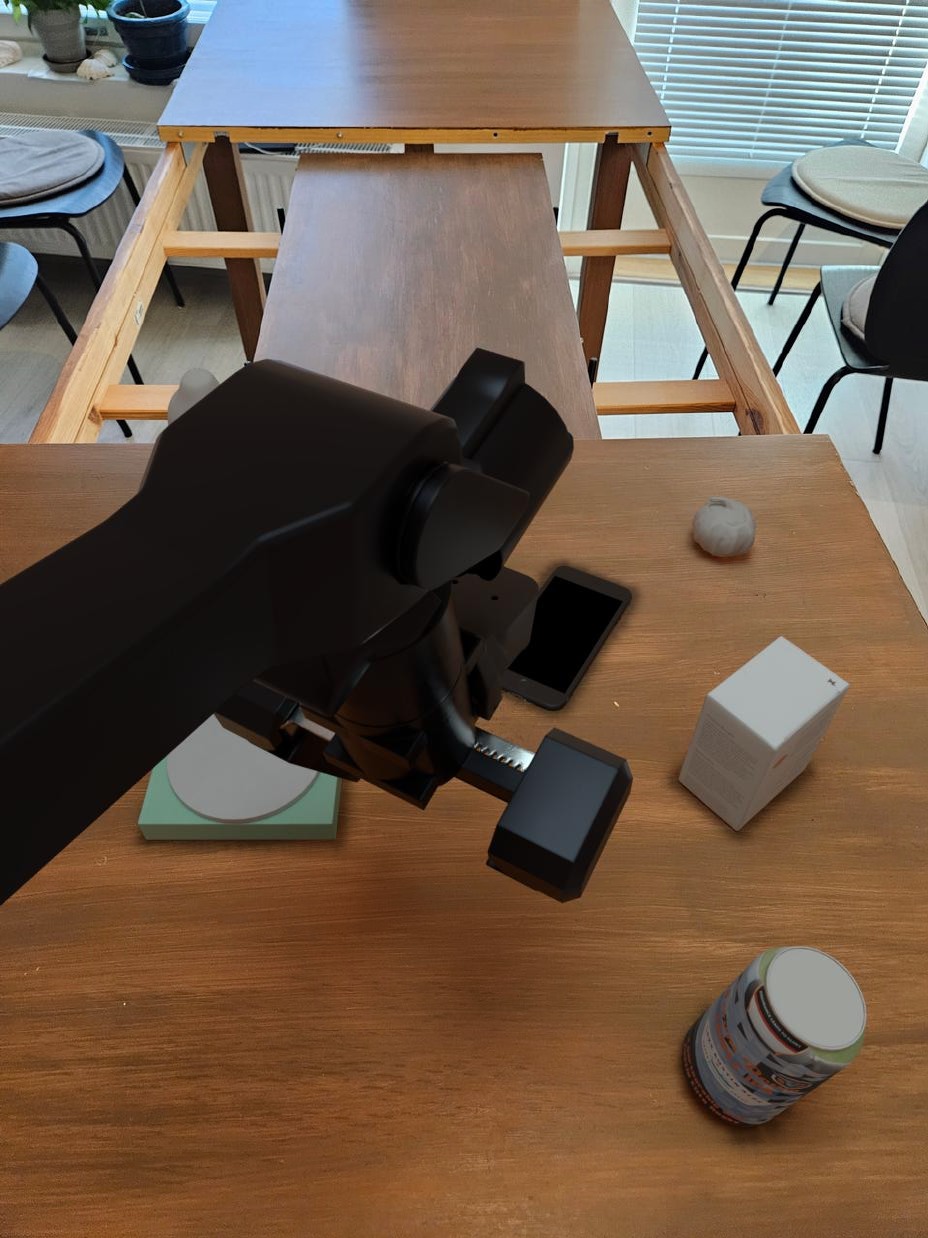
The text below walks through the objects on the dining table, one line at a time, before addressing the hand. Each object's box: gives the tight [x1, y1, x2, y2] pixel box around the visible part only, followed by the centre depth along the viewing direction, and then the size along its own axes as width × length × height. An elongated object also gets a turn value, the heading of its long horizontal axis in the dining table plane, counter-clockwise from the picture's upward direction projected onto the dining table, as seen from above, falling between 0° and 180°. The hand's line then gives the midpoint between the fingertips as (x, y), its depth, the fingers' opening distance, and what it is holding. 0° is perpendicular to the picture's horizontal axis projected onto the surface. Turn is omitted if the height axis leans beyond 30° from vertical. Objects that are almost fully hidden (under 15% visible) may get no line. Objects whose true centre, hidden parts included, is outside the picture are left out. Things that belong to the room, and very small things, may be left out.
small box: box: [678, 635, 851, 832], centre depth 61 cm, size 8×6×10 cm
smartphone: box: [501, 565, 633, 712], centre depth 74 cm, size 7×15×1 cm, turn 150°
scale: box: [137, 714, 343, 841], centre depth 69 cm, size 26×13×3 cm, turn 0°
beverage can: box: [681, 945, 868, 1128], centre depth 47 cm, size 6×7×12 cm
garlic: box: [691, 495, 757, 558], centre depth 79 cm, size 6×5×5 cm
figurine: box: [166, 367, 221, 426], centre depth 82 cm, size 8×5×12 cm
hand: (434, 810), depth 46 cm, fingers open, 9 cm apart
